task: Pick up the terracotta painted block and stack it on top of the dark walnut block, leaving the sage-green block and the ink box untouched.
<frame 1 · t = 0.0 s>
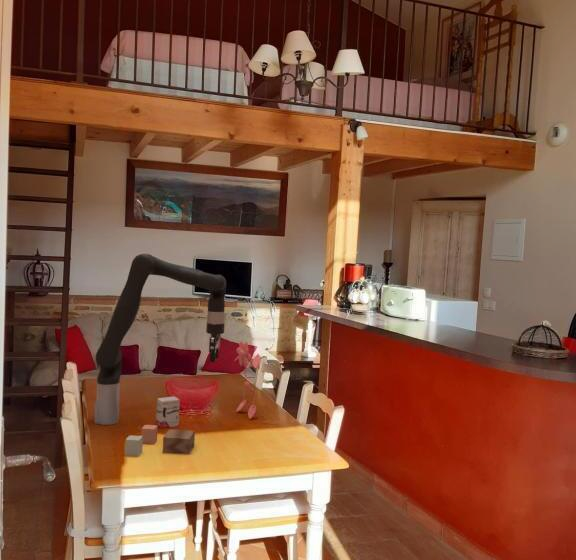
hand: (214, 360, 261), 29 cm above the table, fingers open, 8 cm apart
ink box: (167, 426, 263), on the table
sage block: (133, 453, 227), on the table
pink artificial flower: (240, 416, 282), on the table
walnut block: (178, 449, 235), on the table
terracotta block: (149, 442, 241), on the table
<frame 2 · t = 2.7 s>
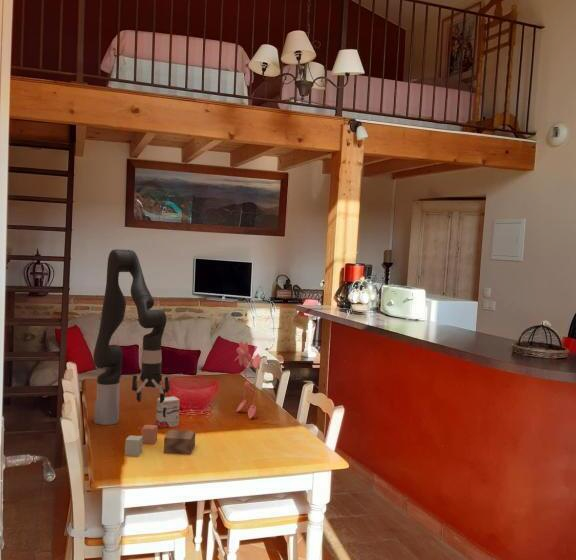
hand: (150, 402, 240), 16 cm above the table, fingers open, 8 cm apart
nothing on the table moved.
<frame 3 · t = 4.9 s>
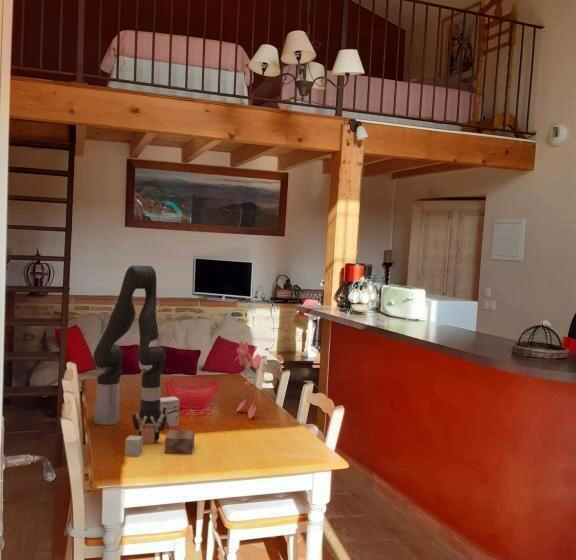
hand: (149, 440, 241), 1 cm above the table, fingers closed on terracotta block, 5 cm apart
terracotta block: (149, 441, 241), on the table, touching gripper
everything else where it was.
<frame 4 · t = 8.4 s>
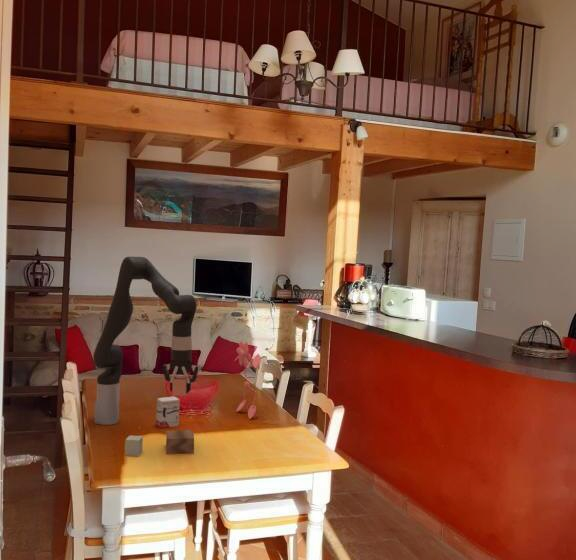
hand: (180, 392, 233), 22 cm above the table, fingers closed on terracotta block, 5 cm apart
terracotta block: (180, 393, 233), point 21 cm above the table, touching gripper
when the fingers open (8 cm above the table, at t = 12.2 s): terracotta block drops 1 cm, resting on walnut block.
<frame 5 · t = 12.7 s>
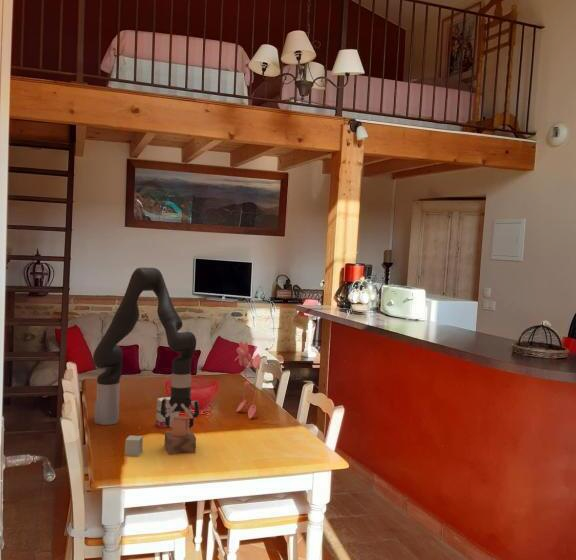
hand: (179, 426, 234), 9 cm above the table, fingers open, 8 cm apart
walnut block: (179, 449, 234), on the table, touching terracotta block
terracotta block: (179, 433, 234), point 6 cm above the table, touching walnut block
everything else where it was.
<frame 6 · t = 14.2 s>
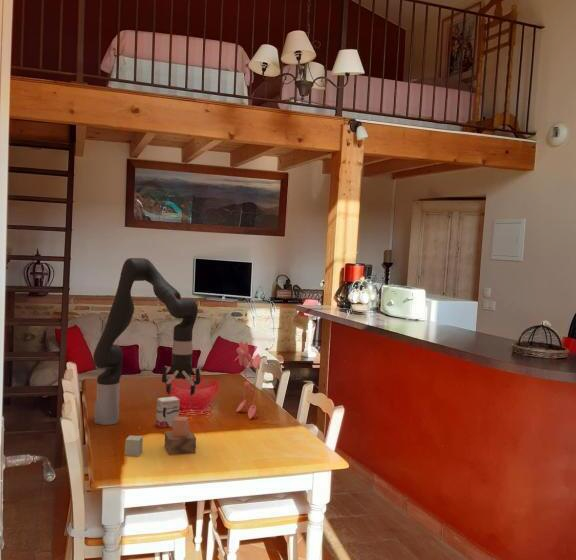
hand: (180, 394, 233), 21 cm above the table, fingers open, 8 cm apart
nothing on the table moved.
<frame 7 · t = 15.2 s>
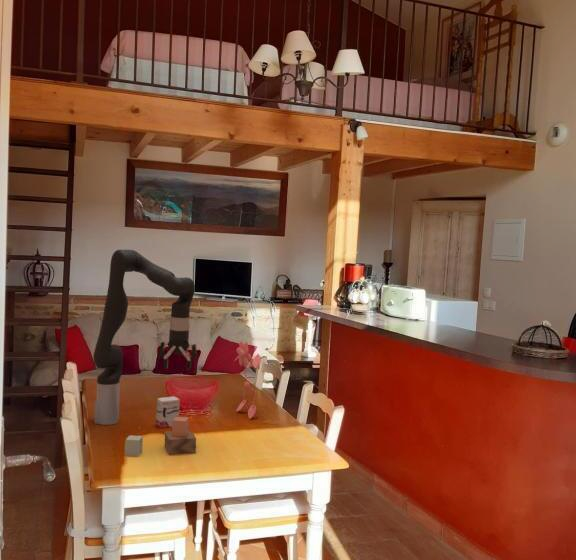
hand: (177, 369, 242), 29 cm above the table, fingers open, 8 cm apart
walnut block: (179, 450, 234), on the table
terracotta block: (180, 434, 234), point 6 cm above the table
everything else where it was.
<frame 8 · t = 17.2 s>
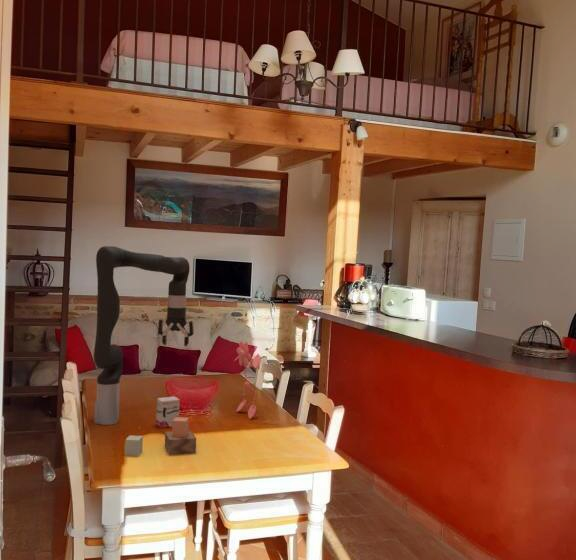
hand: (175, 345, 253), 36 cm above the table, fingers open, 8 cm apart
nothing on the table moved.
at the end: terracotta block 0.2 cm off-centre on the walnut block, point 6.0 cm above the walnut block's base; terracotta block tilted 0°; the gripper is holding nothing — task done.
